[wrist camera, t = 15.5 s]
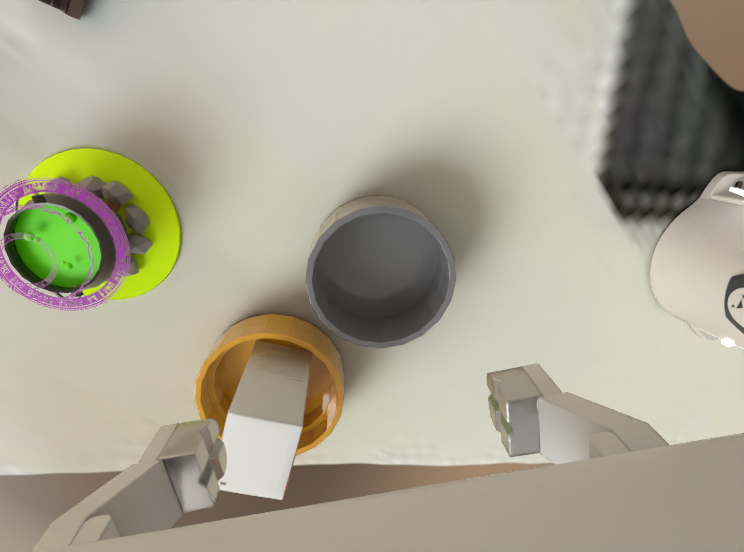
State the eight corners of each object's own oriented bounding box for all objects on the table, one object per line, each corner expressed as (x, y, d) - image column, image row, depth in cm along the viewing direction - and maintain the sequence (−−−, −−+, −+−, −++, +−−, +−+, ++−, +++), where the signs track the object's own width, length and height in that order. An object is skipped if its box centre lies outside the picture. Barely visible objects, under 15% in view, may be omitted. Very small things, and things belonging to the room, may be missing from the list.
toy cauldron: (-8, 163, 41) (-127, 177, 31) (152, 135, 41) (88, 140, 31) (56, 310, 46) (-28, 365, 36) (199, 285, 46) (157, 333, 36)
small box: (297, 411, 51) (283, 502, 39) (242, 400, 50) (209, 490, 38) (314, 350, 49) (304, 427, 37) (256, 337, 48) (225, 411, 36)
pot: (434, 185, 44) (447, 194, 39) (448, 310, 49) (461, 335, 43) (298, 207, 44) (291, 220, 39) (324, 330, 49) (321, 358, 43)
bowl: (330, 302, 48) (328, 321, 43) (353, 417, 53) (354, 446, 48) (192, 324, 48) (175, 347, 43) (228, 437, 53) (217, 469, 48)
